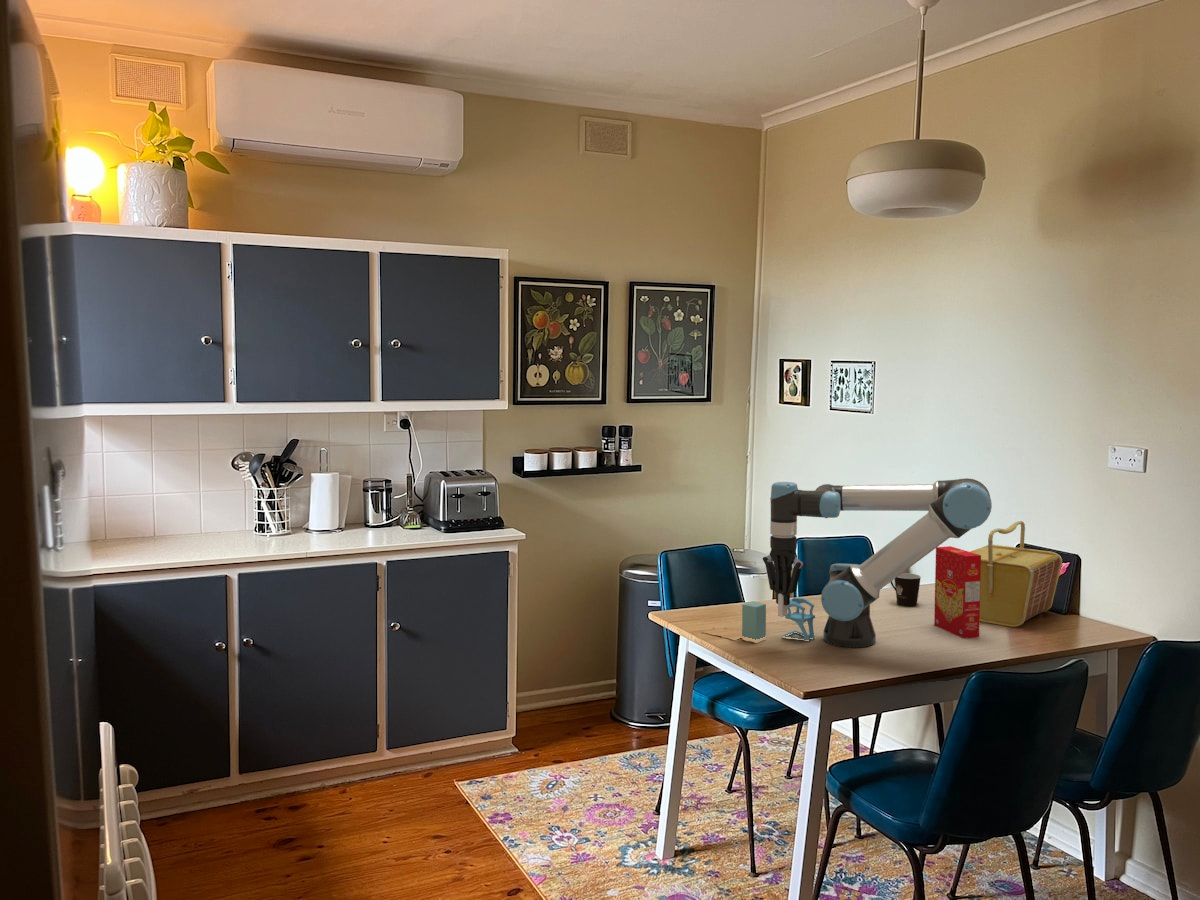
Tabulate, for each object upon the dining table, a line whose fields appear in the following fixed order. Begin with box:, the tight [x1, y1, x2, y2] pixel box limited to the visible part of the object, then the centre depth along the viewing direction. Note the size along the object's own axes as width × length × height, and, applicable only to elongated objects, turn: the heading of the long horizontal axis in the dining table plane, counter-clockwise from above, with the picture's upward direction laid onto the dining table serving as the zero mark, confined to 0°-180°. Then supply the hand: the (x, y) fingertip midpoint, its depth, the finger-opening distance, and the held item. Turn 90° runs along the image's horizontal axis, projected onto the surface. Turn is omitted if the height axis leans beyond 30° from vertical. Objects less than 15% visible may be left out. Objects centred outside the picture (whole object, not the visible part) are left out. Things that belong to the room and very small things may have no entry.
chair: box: [781, 597, 816, 641], centre depth 276 cm, size 8×8×12 cm
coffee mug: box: [890, 572, 922, 608], centre depth 315 cm, size 12×9×10 cm
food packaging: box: [933, 545, 981, 639], centre depth 281 cm, size 15×5×25 cm, turn 14°
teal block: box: [741, 601, 767, 640], centre depth 274 cm, size 5×5×11 cm
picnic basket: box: [969, 520, 1063, 628], centre depth 298 cm, size 29×26×30 cm
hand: (782, 615), depth 267 cm, fingers closed
